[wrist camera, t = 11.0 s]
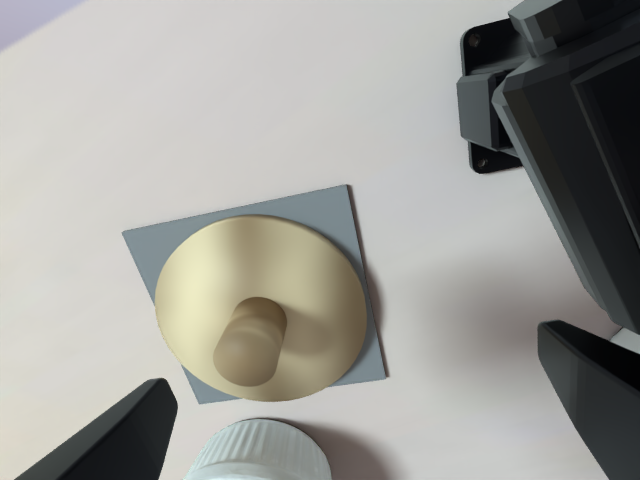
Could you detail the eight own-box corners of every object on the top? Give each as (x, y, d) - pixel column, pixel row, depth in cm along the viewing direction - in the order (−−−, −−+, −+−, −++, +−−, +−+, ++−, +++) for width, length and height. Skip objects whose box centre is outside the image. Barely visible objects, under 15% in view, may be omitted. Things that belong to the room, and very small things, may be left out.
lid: (342, 192, 19) (341, 220, 15) (381, 375, 23) (390, 437, 19) (129, 237, 21) (76, 274, 17) (203, 401, 25) (175, 462, 21)
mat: (346, 184, 19) (346, 185, 19) (385, 375, 24) (385, 379, 24) (124, 230, 21) (121, 232, 21) (200, 401, 26) (198, 404, 25)
